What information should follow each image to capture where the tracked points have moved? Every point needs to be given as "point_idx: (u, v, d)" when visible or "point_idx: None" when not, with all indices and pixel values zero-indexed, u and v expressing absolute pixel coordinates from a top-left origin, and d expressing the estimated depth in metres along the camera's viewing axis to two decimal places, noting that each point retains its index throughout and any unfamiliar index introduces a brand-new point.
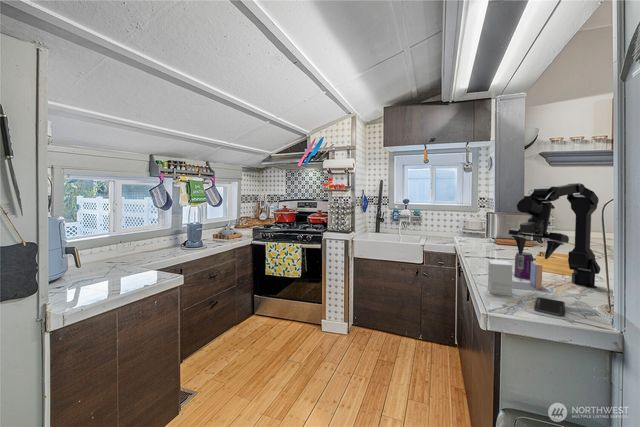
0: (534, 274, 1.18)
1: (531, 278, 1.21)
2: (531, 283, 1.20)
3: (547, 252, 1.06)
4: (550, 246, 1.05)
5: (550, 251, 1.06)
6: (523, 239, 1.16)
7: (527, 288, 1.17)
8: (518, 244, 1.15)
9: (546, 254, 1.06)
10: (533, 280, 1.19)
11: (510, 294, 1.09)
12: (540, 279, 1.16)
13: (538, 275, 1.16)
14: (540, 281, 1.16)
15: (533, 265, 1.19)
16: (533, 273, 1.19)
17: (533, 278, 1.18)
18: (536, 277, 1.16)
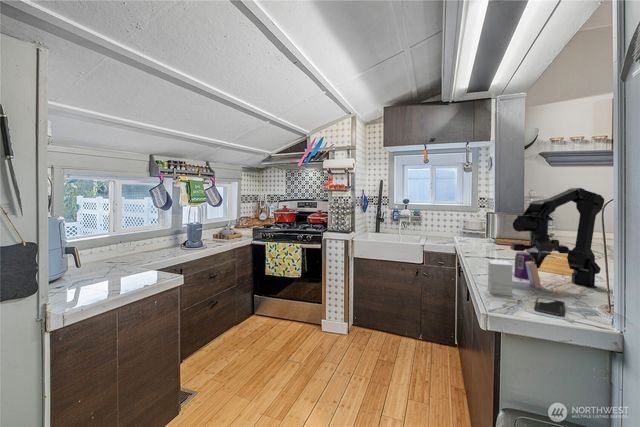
0: (530, 274, 1.18)
1: (529, 278, 1.21)
2: (531, 283, 1.20)
3: (540, 262, 1.17)
4: (544, 257, 1.16)
5: None
6: None
7: (527, 288, 1.17)
8: (536, 259, 1.17)
9: (539, 264, 1.17)
10: (531, 280, 1.19)
11: (510, 294, 1.09)
12: (537, 278, 1.16)
13: (535, 275, 1.16)
14: (538, 281, 1.16)
15: (528, 265, 1.19)
16: (529, 273, 1.19)
17: (531, 278, 1.18)
18: (533, 277, 1.17)
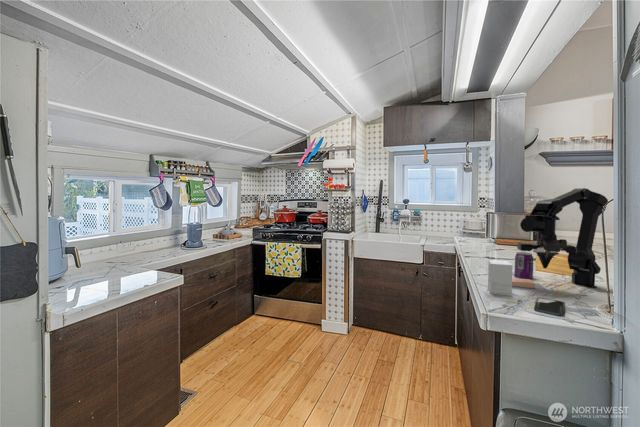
0: None
1: None
2: None
3: (548, 262, 1.16)
4: (551, 257, 1.15)
5: None
6: None
7: (527, 288, 1.17)
8: (543, 259, 1.16)
9: (547, 264, 1.17)
10: None
11: (510, 294, 1.09)
12: (523, 283, 1.18)
13: (519, 284, 1.18)
14: (526, 283, 1.18)
15: None
16: None
17: None
18: (521, 286, 1.18)
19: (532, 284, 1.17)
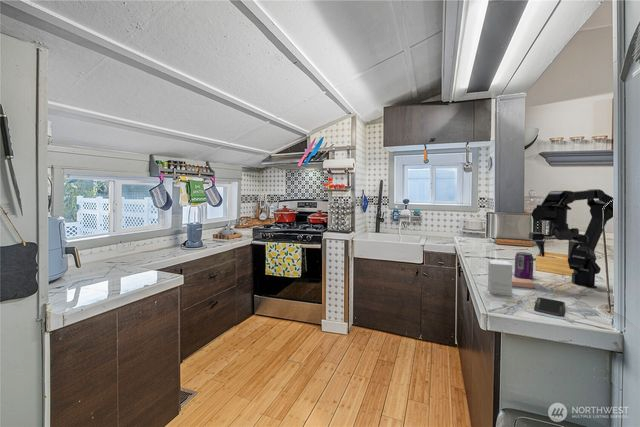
0: None
1: None
2: None
3: (572, 252, 1.16)
4: (576, 247, 1.16)
5: None
6: None
7: (527, 288, 1.17)
8: (542, 248, 1.20)
9: (571, 254, 1.17)
10: None
11: (510, 294, 1.09)
12: (523, 283, 1.18)
13: (519, 284, 1.18)
14: (526, 283, 1.18)
15: None
16: None
17: None
18: (521, 286, 1.18)
19: (532, 284, 1.17)
